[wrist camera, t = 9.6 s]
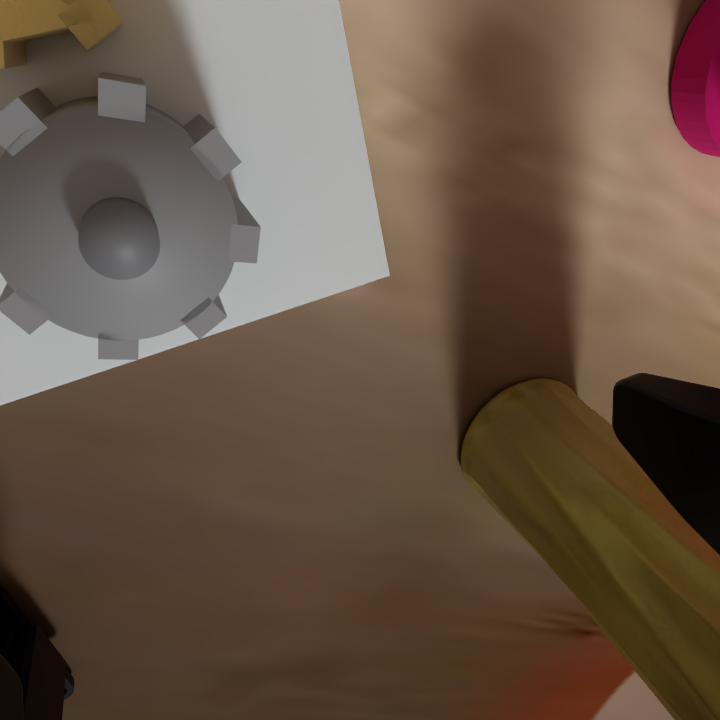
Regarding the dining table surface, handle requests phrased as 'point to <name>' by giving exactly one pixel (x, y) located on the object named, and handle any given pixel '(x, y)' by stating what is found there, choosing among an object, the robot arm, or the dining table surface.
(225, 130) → the gear board
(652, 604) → the vase
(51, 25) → the gear
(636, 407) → the robot arm
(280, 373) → the dining table surface
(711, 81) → the pepper mill
